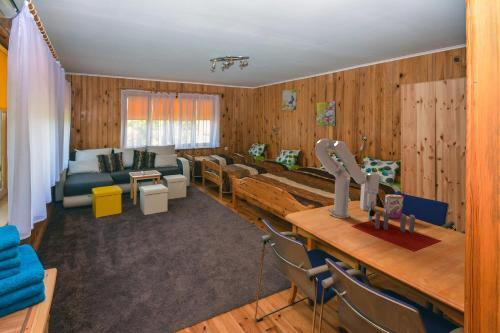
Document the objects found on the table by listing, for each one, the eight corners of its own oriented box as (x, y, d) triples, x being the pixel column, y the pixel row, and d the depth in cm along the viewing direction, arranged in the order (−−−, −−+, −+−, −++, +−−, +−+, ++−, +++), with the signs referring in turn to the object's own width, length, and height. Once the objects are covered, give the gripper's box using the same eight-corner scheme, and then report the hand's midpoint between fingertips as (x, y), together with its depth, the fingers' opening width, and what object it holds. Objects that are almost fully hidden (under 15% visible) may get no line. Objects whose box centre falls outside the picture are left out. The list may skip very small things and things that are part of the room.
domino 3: (384, 229, 184) (385, 214, 183) (383, 226, 189) (384, 212, 187) (387, 229, 184) (388, 214, 182) (386, 227, 188) (387, 212, 187)
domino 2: (375, 228, 186) (376, 213, 184) (374, 225, 191) (376, 211, 189) (379, 228, 185) (380, 214, 184) (378, 226, 190) (379, 211, 188)
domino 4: (401, 231, 181) (402, 216, 180) (399, 228, 186) (401, 213, 184) (404, 231, 181) (406, 216, 179) (403, 228, 186) (404, 214, 184)
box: (362, 210, 224) (365, 179, 220) (359, 207, 232) (361, 176, 228) (374, 210, 223) (376, 179, 219) (370, 207, 231) (372, 177, 227)
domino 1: (368, 220, 201) (369, 206, 199) (368, 218, 206) (369, 204, 204) (371, 220, 200) (372, 207, 199) (371, 218, 205) (372, 205, 203)
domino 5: (410, 232, 180) (411, 217, 178) (408, 229, 185) (409, 214, 183) (413, 232, 179) (415, 217, 178) (411, 229, 184) (413, 214, 182)
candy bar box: (385, 218, 206) (387, 196, 203) (383, 215, 211) (384, 194, 208) (401, 218, 205) (403, 196, 202) (398, 216, 209) (400, 194, 207)
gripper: (365, 187, 209) (364, 210, 211) (367, 193, 192) (366, 217, 195) (376, 188, 206) (375, 210, 209) (379, 193, 190) (378, 218, 193)
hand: (371, 214), depth 202 cm, fingers open, 9 cm apart
